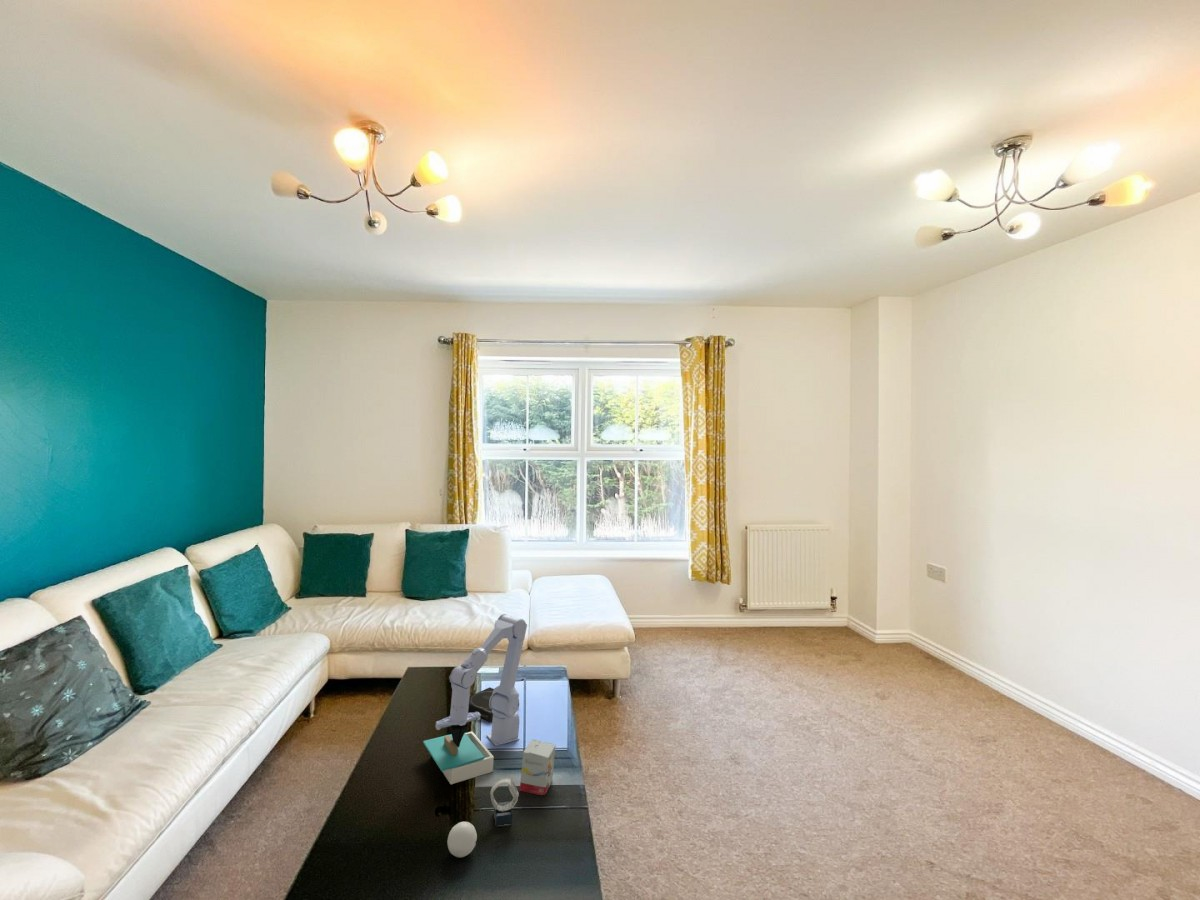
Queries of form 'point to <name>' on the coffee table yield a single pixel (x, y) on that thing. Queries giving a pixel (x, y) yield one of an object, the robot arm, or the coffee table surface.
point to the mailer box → (471, 764)
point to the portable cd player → (482, 704)
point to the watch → (504, 803)
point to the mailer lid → (452, 751)
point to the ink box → (537, 767)
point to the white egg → (462, 839)
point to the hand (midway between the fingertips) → (456, 746)
